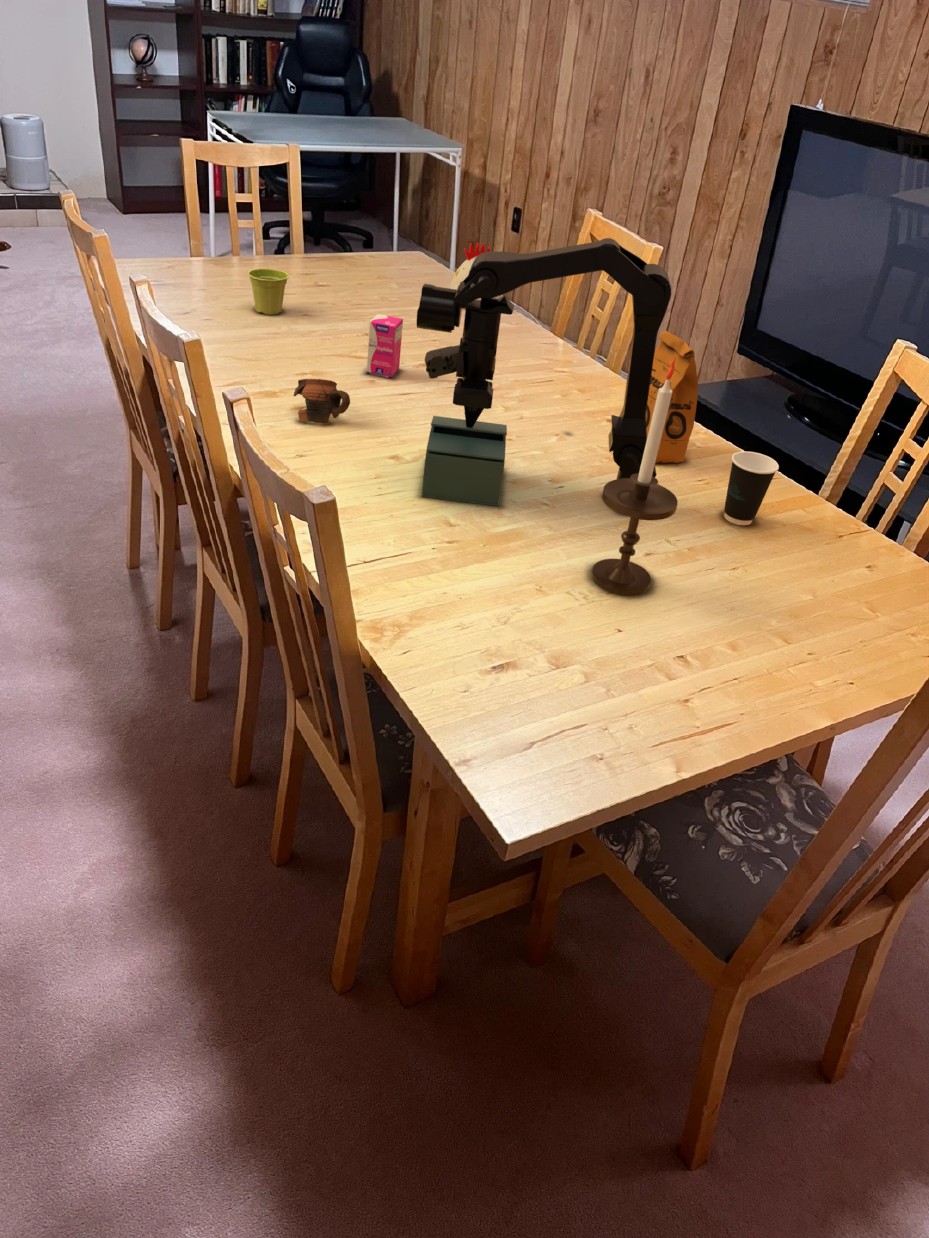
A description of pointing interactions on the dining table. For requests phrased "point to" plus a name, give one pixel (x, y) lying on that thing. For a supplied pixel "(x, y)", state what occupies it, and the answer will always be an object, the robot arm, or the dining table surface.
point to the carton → (464, 466)
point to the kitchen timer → (468, 266)
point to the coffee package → (674, 396)
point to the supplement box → (384, 345)
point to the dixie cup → (748, 485)
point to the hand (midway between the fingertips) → (469, 426)
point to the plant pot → (268, 289)
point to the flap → (477, 427)
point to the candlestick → (637, 507)
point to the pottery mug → (321, 400)
